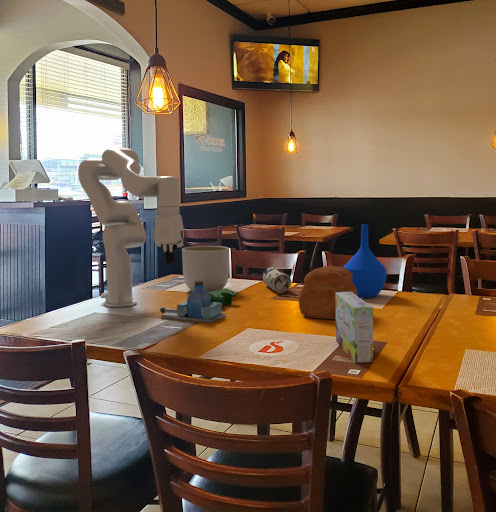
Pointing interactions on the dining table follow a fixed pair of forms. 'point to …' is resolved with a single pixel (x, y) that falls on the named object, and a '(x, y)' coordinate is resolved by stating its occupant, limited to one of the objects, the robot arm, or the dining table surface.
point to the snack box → (354, 326)
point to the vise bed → (189, 318)
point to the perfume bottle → (197, 300)
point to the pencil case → (276, 280)
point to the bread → (324, 291)
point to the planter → (206, 266)
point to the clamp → (222, 296)
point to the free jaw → (180, 309)
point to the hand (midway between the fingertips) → (170, 262)
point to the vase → (366, 269)
